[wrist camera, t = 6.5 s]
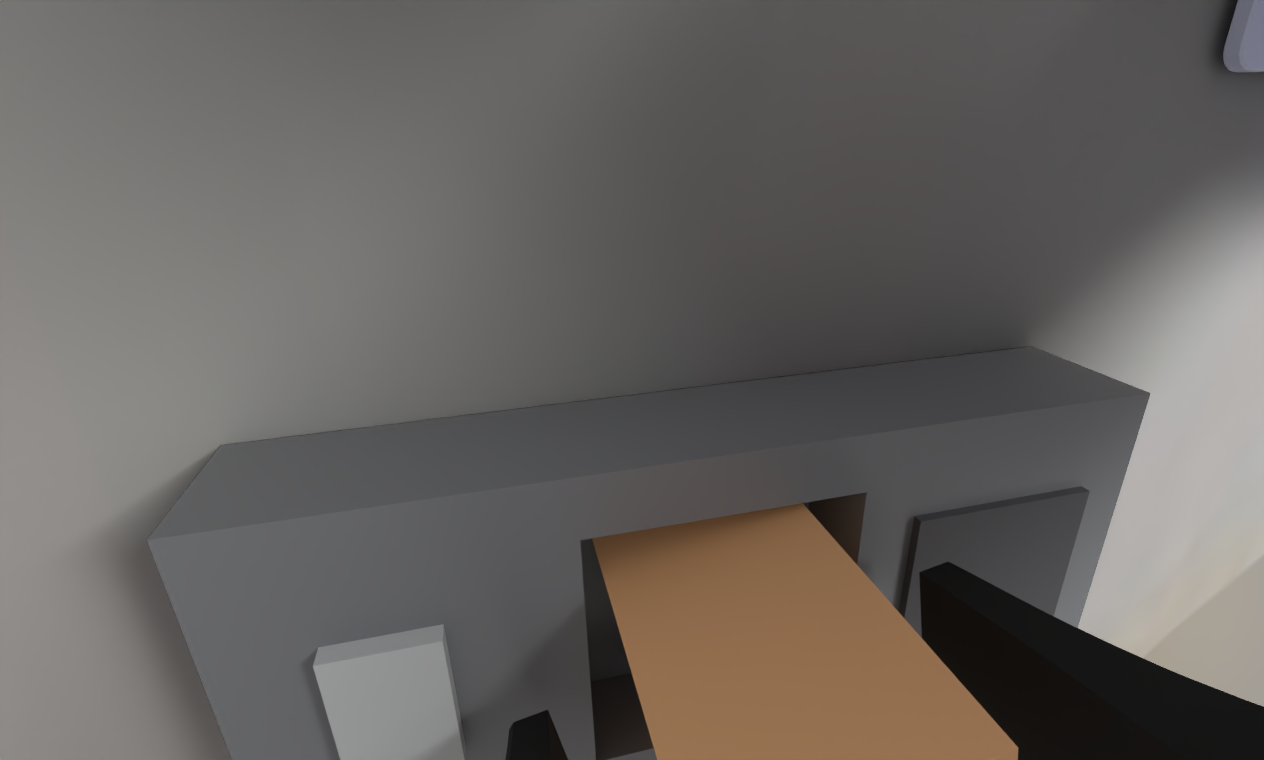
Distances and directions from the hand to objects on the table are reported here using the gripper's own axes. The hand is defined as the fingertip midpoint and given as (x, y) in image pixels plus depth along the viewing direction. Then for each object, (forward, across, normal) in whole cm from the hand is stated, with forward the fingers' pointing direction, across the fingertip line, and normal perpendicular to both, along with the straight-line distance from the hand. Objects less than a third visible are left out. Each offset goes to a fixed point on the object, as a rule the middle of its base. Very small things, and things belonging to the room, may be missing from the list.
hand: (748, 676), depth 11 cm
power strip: (+4, 0, 0) cm, 4 cm away
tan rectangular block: (+3, 0, 0) cm, 3 cm away
